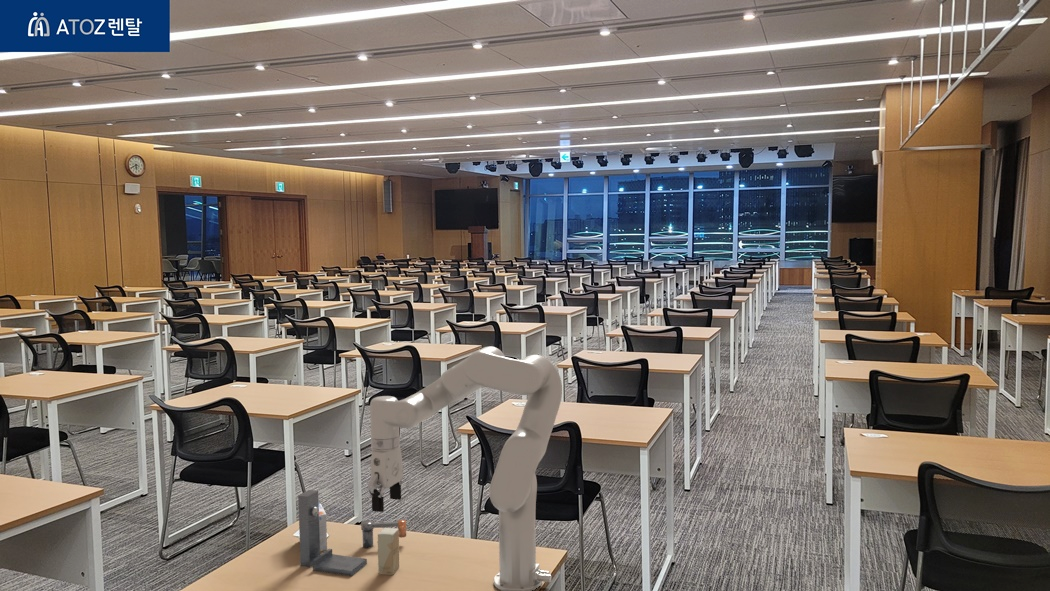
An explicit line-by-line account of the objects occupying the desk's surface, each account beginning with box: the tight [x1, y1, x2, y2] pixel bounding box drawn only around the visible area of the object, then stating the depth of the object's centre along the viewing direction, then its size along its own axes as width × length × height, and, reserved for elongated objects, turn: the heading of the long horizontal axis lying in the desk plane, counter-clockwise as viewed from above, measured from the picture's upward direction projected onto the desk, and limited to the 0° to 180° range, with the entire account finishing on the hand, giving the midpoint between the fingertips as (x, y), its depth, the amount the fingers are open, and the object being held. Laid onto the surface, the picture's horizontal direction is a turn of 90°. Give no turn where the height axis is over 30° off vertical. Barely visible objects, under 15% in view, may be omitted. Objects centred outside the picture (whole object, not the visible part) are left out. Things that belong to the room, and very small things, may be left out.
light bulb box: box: [319, 503, 328, 552], centre depth 217 cm, size 11×7×11 cm, turn 25°
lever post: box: [361, 529, 374, 549], centre depth 216 cm, size 3×3×5 cm
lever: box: [360, 519, 407, 539], centre depth 216 cm, size 13×4×5 cm, turn 97°
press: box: [297, 489, 368, 577], centre depth 202 cm, size 17×8×20 cm, turn 72°
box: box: [377, 527, 400, 576], centre depth 199 cm, size 5×4×11 cm
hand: (387, 504), depth 198 cm, fingers open, 9 cm apart
